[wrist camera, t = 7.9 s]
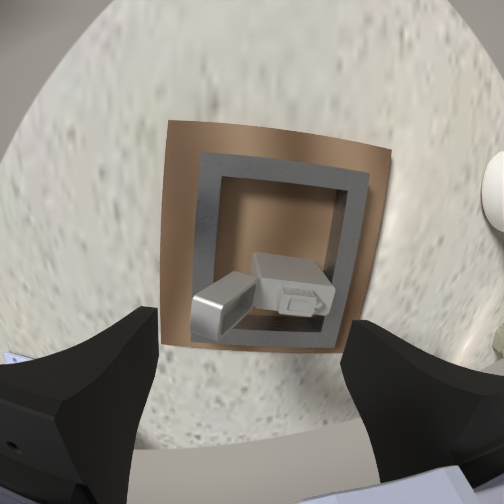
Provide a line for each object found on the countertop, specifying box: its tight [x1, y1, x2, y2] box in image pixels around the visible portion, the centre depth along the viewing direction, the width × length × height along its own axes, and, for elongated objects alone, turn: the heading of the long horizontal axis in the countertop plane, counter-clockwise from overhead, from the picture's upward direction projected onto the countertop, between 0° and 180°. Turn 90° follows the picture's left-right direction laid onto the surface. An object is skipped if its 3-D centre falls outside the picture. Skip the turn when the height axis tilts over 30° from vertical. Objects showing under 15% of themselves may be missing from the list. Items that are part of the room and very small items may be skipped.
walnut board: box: [160, 120, 392, 353], centre depth 21 cm, size 14×15×1 cm
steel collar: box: [191, 152, 370, 348], centre depth 19 cm, size 9×11×2 cm
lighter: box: [189, 252, 335, 342], centre depth 16 cm, size 7×2×8 cm, turn 80°
